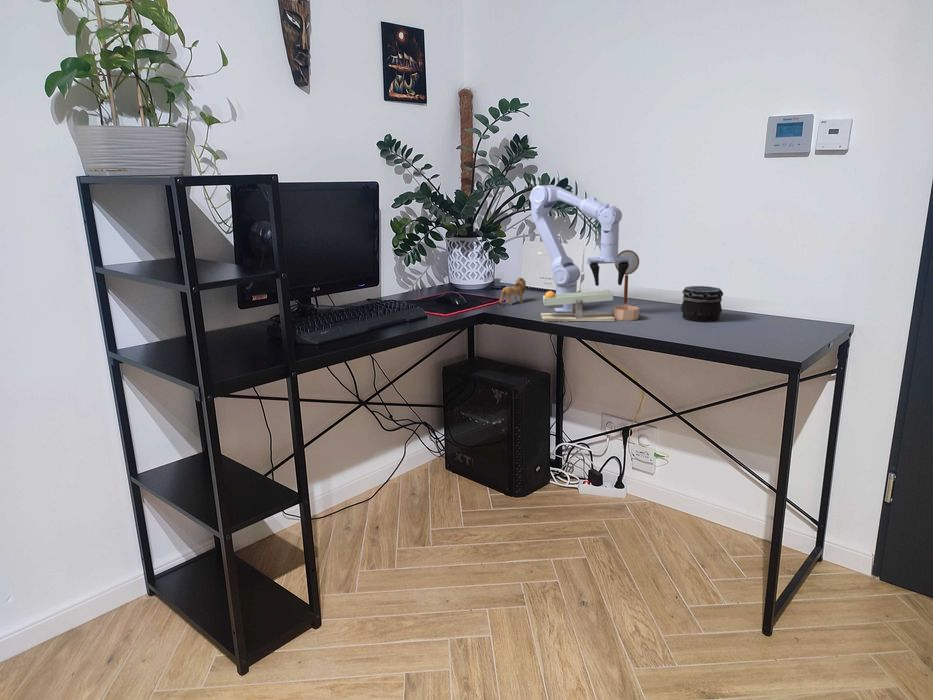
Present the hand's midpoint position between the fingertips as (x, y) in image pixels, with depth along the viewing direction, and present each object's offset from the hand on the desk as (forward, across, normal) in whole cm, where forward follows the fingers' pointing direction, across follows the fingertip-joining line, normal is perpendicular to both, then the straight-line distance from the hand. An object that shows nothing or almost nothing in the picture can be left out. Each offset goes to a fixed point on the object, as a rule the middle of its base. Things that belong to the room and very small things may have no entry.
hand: (608, 285), depth 222 cm
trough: (+5, -11, -2) cm, 12 cm away
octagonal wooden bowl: (+10, +5, -6) cm, 13 cm away
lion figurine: (+10, -30, +24) cm, 40 cm away
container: (+11, +28, -9) cm, 32 cm away
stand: (+10, -11, -5) cm, 16 cm away
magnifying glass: (+10, +10, +14) cm, 20 cm away
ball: (+2, -20, -5) cm, 21 cm away
